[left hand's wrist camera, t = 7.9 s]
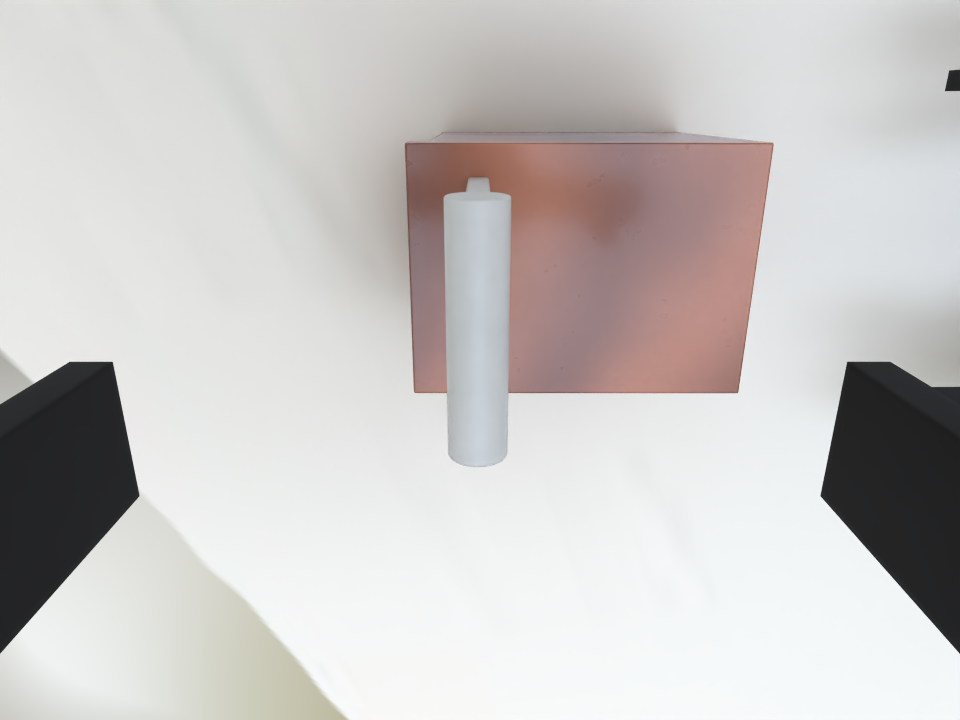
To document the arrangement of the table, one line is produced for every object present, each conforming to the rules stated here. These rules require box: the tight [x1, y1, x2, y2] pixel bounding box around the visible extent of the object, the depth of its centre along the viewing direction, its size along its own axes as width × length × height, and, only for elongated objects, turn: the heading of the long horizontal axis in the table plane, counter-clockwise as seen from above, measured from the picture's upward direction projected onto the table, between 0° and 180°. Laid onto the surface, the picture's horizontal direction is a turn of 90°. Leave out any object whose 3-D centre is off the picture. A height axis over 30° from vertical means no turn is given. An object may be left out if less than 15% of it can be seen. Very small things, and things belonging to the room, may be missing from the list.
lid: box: [405, 141, 773, 467], centre depth 21 cm, size 12×9×8 cm
